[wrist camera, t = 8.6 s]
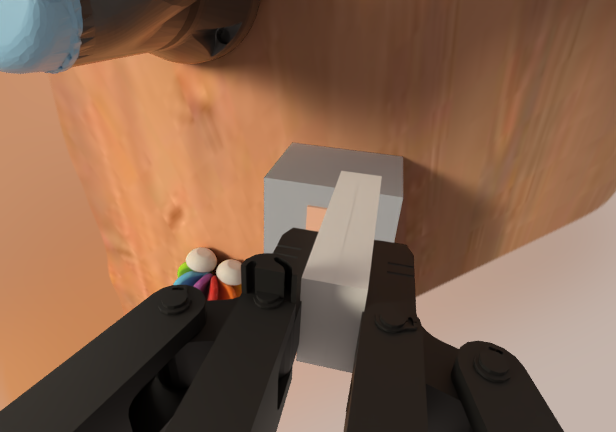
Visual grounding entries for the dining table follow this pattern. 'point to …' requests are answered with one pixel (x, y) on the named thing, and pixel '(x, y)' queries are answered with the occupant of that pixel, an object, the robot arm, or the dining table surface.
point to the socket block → (325, 189)
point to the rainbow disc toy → (201, 277)
